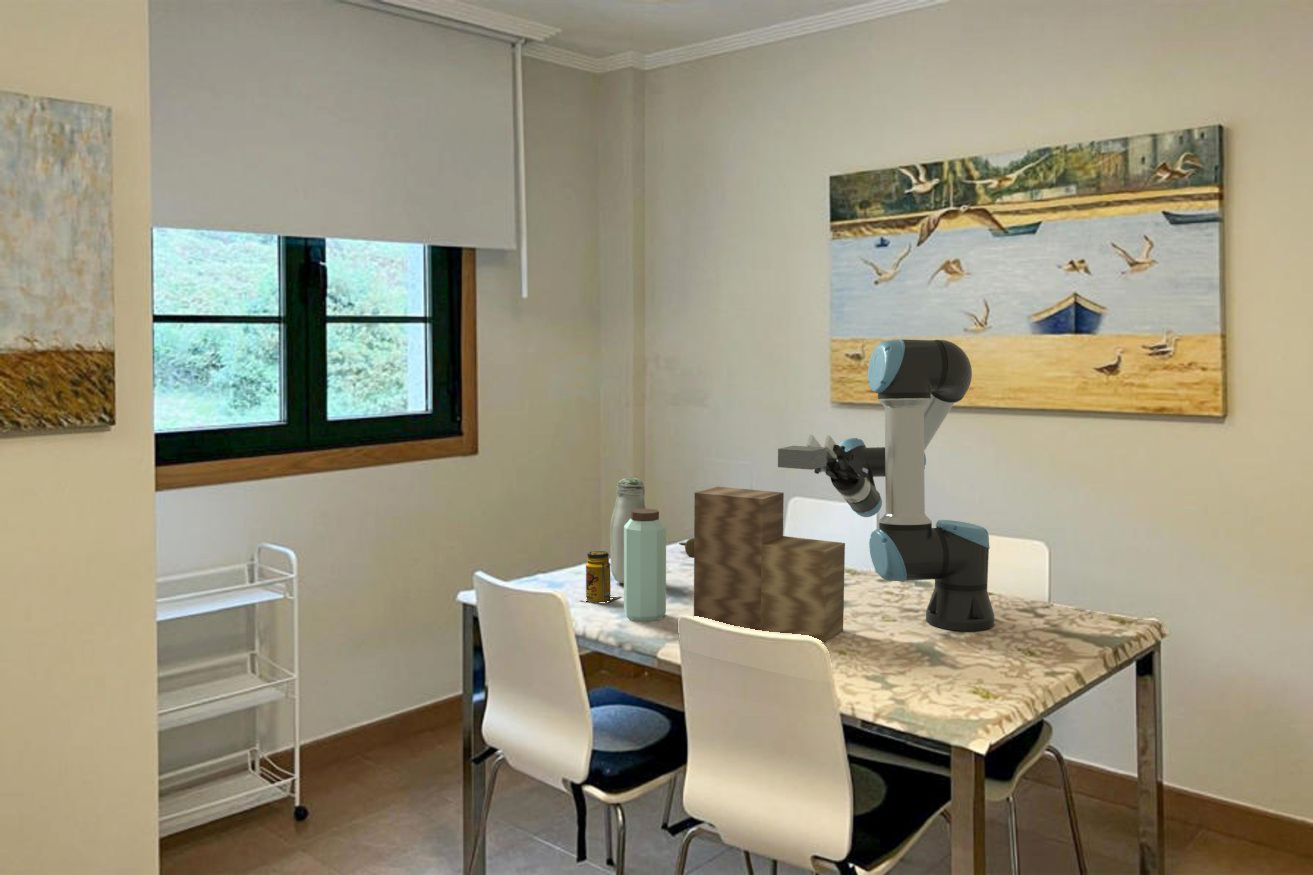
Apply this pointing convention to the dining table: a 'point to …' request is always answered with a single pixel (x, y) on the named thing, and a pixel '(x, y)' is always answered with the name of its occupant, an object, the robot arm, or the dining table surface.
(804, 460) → the grey t-shaped block
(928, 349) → the robot arm
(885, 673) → the dining table surface
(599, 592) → the condiment
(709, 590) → the stepped stand
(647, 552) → the water bottle
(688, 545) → the kendama
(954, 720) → the dining table surface
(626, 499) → the glass bottle
